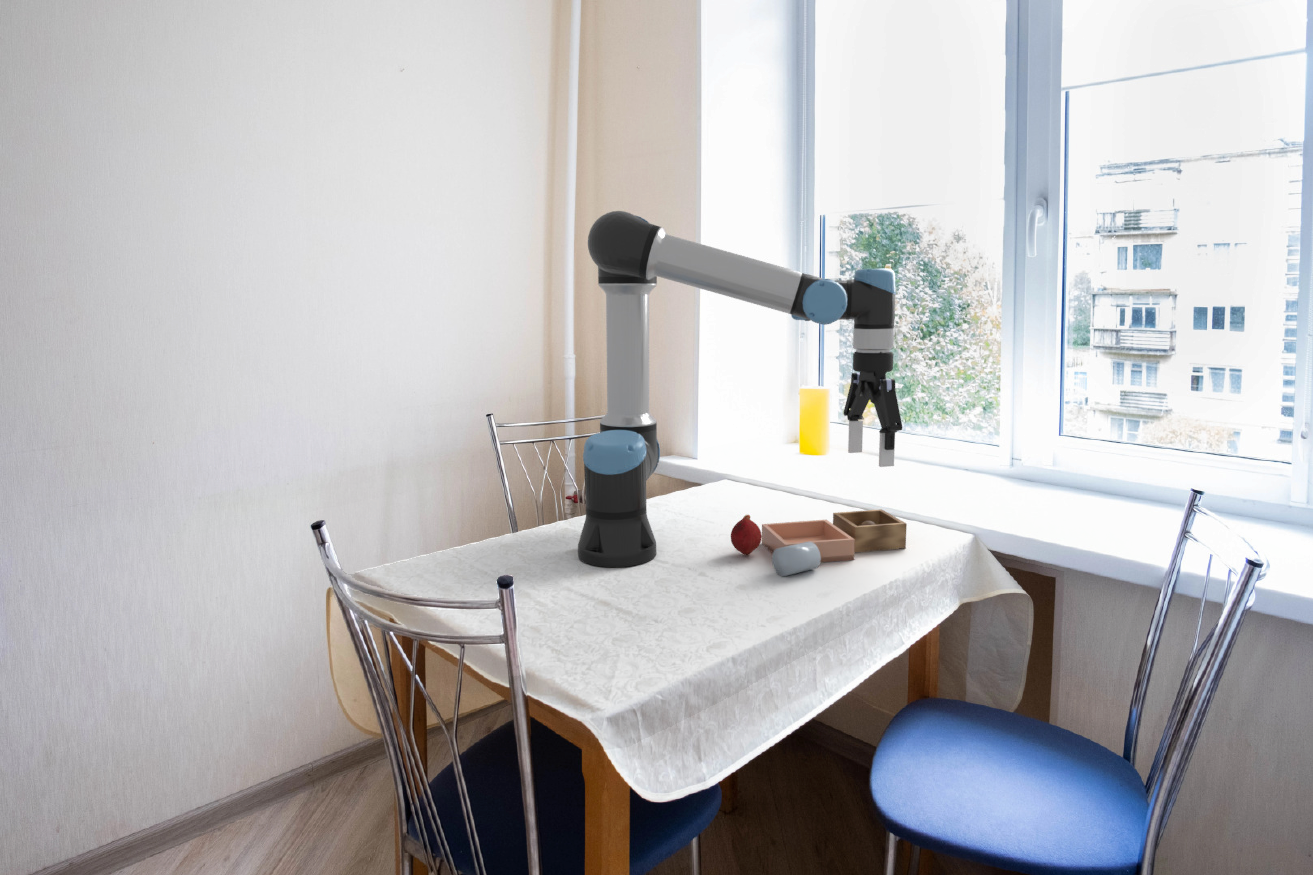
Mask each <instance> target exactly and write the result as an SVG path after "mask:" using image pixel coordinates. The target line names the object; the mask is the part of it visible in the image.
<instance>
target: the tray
mask: <svg viewBox="0 0 1313 875" xmlns="http://www.w3.org/2000/svg"><path fill="white" fill-rule="evenodd" d="M761 535H762V538H761V544H762V546H764V547H765V548H766V549H767V551H769V552H770V553H771V554H772V555H773V552H774V550H775V549H777V548H781V547H786V546H790V545H795V544H799V543H804V542H809V541H810V542H813V543H814V544H815V545H816V546H817V548H818V549H819V552H820V557H821V560H820V564H821V563H831V562H843V561H854V560H855V552H854V546H855V539H853V538H852V537H851V536H849V535H848V534H846V533H845V532H843V531H842V530H841V529H839V528H838V527H836V526H835V525H833V522H831V521H829V520H827V519H816V520H802V521H801V520H799V521H790V522H789V521H788V522H786V521H785V522H772V523H762V524H761Z"/></svg>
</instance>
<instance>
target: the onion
mask: <svg viewBox="0 0 1313 875" xmlns="http://www.w3.org/2000/svg"><path fill="white" fill-rule="evenodd" d="M730 541H731V544H732V546H733V548H734V549H735V550H736V551H738V552H739V553H741V554H742V555H744V556H749V555H751V553H753V552H754V551H756V549H758V548H759V546H760V544H762V530H761V529H760V527H759V526H758V524H756V522H754V521H753V520H751V516H750V514H745V515H744V516H743V518H741V520H739V521H737V522H736V524H735V525H734V526H733V528H732V529H731V532H730Z"/></svg>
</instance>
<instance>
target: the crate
mask: <svg viewBox="0 0 1313 875" xmlns="http://www.w3.org/2000/svg"><path fill="white" fill-rule="evenodd" d="M864 521H872V522H874V523H875V524H876V525H864V526H860V525H861V524H862V523H863V522H864ZM832 524H833V525H835V526H836V527H838V528H839V529H841V530H842V531H843V532H845V533H846V534H848V535H849V536H851V537H852V538H853V539H855V546H854V553H866V552H877V551H889V550H891V549H892V550H900V549H899V548H904V549H907V548H906V546H907V526H908V524H907V523H906V522H904V521H903V520H901V519H899V518H897V517H896V516H894V515H892V514H890V513H889V512H887V511H885V510H883V508H881V509H871V510H870V509H869V510H853V511H841V512H840V511H839V512H833V513H832Z"/></svg>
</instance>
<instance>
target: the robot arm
mask: <svg viewBox="0 0 1313 875" xmlns="http://www.w3.org/2000/svg"><path fill="white" fill-rule="evenodd" d="M587 248H588V249H587V250H588V252H589V255H590V258H591V260H592V261H593V263H594V264H595V265H596V266H597V274H598V275H597V277H598V278H597V282H598V283H597V284H598V287H600V289H602V291H603V292H604V293H605V310H606V311H605V312H606V314H605V316H606V318H605V319H606V322H605V323H606V393H607V394H606V396H607V397H606V398H607V400H606V404H607V405H606V406H607V407H606V408H607V410H606V413H605V415H603V417H602V418H601V419H599V432H598V433H594V434H592V435H590V436H589V437H588V438H587V439H586V440H585V441H584V445H583V447H584V448H583V454H582V457H583V459H582V460H583V467H584V468H583V469H584V472H583V473H584V496H585V520H584V523H583V527H582V530H581V533H580V537H579V540H578V544H577V557H578V559H579V561H581V562H583V563H585V564H587V565H591V566H595V565H596V567H601V568H603V567H604V568H622V567H623V568H624V567H632V566H637V565H642V564H645V563H647V562H650V561H651V560H653V559H655V557H656V556H657V541H656V538H655V536H654V532H653V530H652V527H651V524H650V521H649V519H648V515H647V481H648V480H649V478H650V477H651V476H652V475H653V474H654V472H655V471H656V469H657V468H658V464H659V462H660V458H661V457H660V456H661V448H660V443H659V441H658V435H657V434H658V432H657V425H658V424H657V422H658V421H657V419H656V418H655V417H654V416H653V415H652V414H651V413H650V294H651V292H652V291H653V290H654V289H655V288H656V287H657V285H658V280H657V278H658V277H659V278H662V279H666V280H669V281H672V282H675V283H679V284H683V285H687V286H691V287H695V288H698V289H701V290H705V291H709V292H711V293H715V294H719V295H721V296H726V297H728V298H733V299H735V300H739V301H743V302H745V303H746V302H747V303H750V304H754V305H757V306H760V307H763V308H768V309H771V310H775V311H778V312H782V313H786V314H788V315H789V314H790V315H791V318H792V319H793V320H795V321H805V322H809V321H811V322H813V323H816V324H820V325H831V324H832V323H835V322H837V321H839V320H842V321H843V320H844V321H845V320H846V321H848V320H850V321H851V320H853V322H854V323H853V332H852V333H853V336H852V337H853V338H852V348H853V349H854V350H855V351H854V352H853V353H852V370H853V371H854V372H851V374H850V375H851V377H850V384H849V389H848V393H847V396H846V400H845V405H844V408H843V415H844V417H847V420H848V442H847V443H848V444H847V446H848V447H847V448H848V451H847V452H848V453H849V454H854V453H855V454H857V453H858V454H859V453H863V435H864V434H863V433H864V432H863V431H864V430H863V429H864V419H865V418H864V416H863V414H864V413H865V411H866V408H867V406H868V404H869V402H870V403H871V404H873V406H874V408H875V412H876V414H877V418H878V420H879V424H880V427H881V428H880V429H879V444H878V445H879V447H878V449H879V453H878V467H879V468H885V467H894V466H895V445H896V433H897V432H900V431H903V423H902V417H901V412H900V408H899V402H898V396H897V393H896V392H897V391H896V379H895V378H887V373H889V372H890V373H891V372H892V371H893V369H894V353H893V352H892V351H891V350H892V349H893V348H894V343H895V342H894V340H895V339H894V338H895V337H896V333H895V321H896V320H895V318H896V297H897V296H896V295H897V292H896V274H895V270H893V269H891V268H864V269H863V268H860V269H859V268H858V269H857V270H855V273H854V276H853V279H845V280H841V279H840V280H838V279H837V280H835V279H834V280H833V279H829V278H824V277H823V278H822V277H818V276H815V275H812V274H809V273H805V272H804V273H803V272H801V271H798V270H794V269H791V268H788V267H783V266H781V265H777V264H774V263H771V262H766V261H762V260H759V259H756V258H752V257H748V256H745V255H741V254H738V253H733V252H731V251H727V250H724V249H719V248H716V247H712V246H710V245H709V246H708V245H705V244H702V243H698V242H695V241H690V240H687V239H684V238H681V237H677V236H674V235H670V234H668V233H667V232H666V229H665V228H664V227H662V226H659V225H656V224H653V223H650V222H649V221H648V220H646V219H645V218H643V217H641V216H638V215H635V214H633V213H631V212H627V211H623V210H614V211H610V212H607V213H604V214H602V215H601V216H600V217H598V218H597V219H596V220H595V221H594V222H593V223H592V226H591V227H590V229H589V233H588V235H587Z"/></svg>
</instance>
